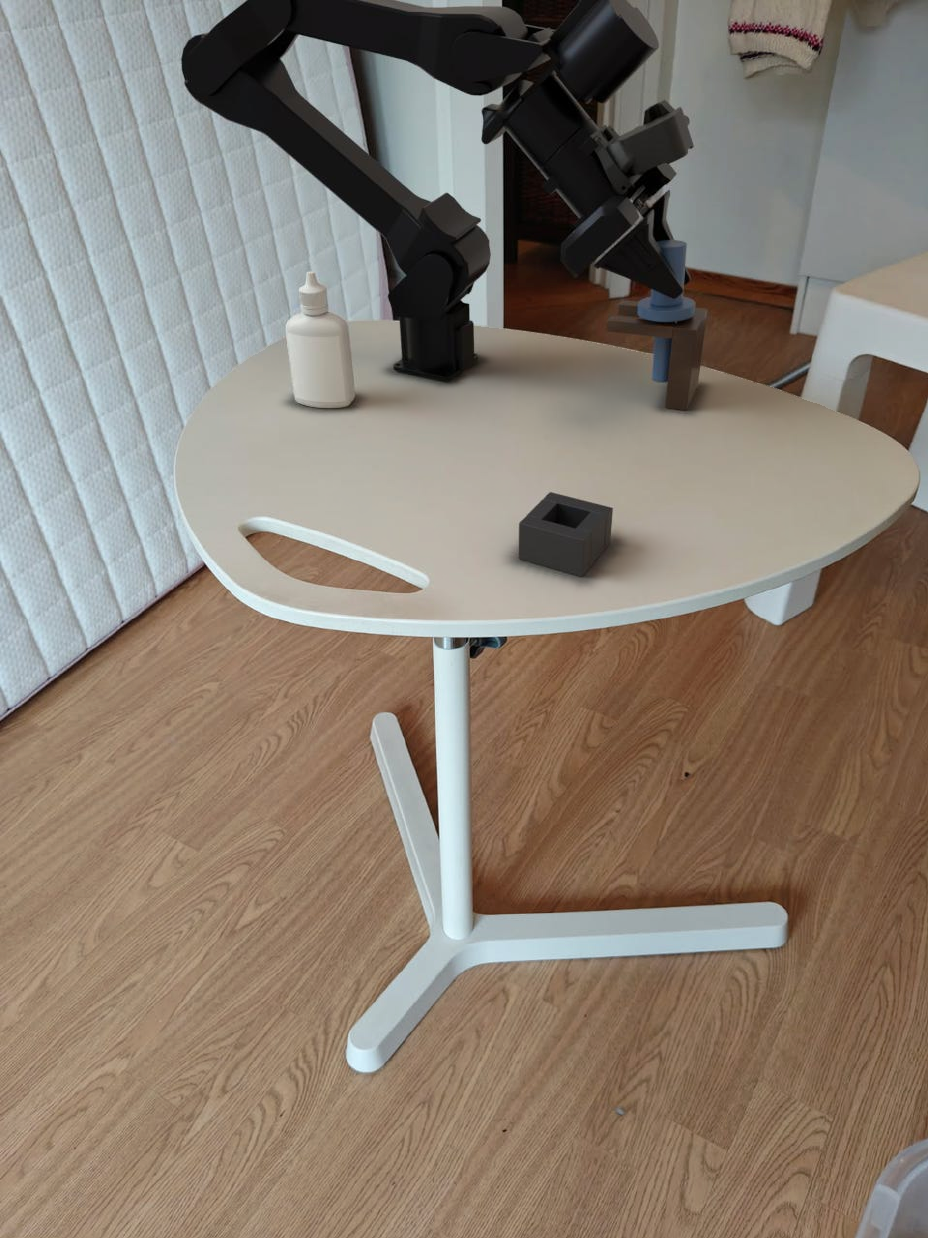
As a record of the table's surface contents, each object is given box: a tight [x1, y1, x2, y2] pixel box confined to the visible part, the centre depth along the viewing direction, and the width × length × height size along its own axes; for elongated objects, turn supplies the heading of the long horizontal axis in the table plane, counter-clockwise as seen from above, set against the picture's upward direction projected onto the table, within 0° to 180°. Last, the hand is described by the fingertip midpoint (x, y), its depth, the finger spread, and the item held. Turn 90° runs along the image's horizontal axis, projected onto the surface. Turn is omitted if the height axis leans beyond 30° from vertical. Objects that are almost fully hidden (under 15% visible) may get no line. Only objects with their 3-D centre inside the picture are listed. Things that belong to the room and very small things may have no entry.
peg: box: [637, 239, 696, 383], centre depth 87 cm, size 5×5×12 cm
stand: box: [605, 300, 708, 411], centre depth 90 cm, size 8×6×8 cm
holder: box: [518, 491, 614, 578], centre depth 70 cm, size 5×5×3 cm
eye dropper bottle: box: [285, 270, 356, 409], centre depth 89 cm, size 4×6×12 cm
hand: (683, 289), depth 85 cm, fingers closed on peg, 3 cm apart
